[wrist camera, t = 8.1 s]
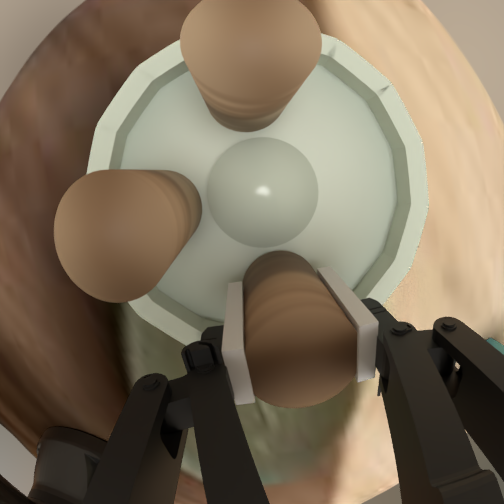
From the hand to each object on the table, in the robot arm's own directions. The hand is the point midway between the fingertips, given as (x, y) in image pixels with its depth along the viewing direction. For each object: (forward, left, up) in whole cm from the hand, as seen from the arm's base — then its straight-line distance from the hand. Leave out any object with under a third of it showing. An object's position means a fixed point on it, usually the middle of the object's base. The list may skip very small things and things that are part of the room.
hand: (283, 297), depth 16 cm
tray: (0, +6, -3) cm, 6 cm away
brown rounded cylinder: (-6, +6, -2) cm, 9 cm away
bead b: (0, +12, -2) cm, 12 cm away
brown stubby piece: (0, 0, -2) cm, 2 cm away
